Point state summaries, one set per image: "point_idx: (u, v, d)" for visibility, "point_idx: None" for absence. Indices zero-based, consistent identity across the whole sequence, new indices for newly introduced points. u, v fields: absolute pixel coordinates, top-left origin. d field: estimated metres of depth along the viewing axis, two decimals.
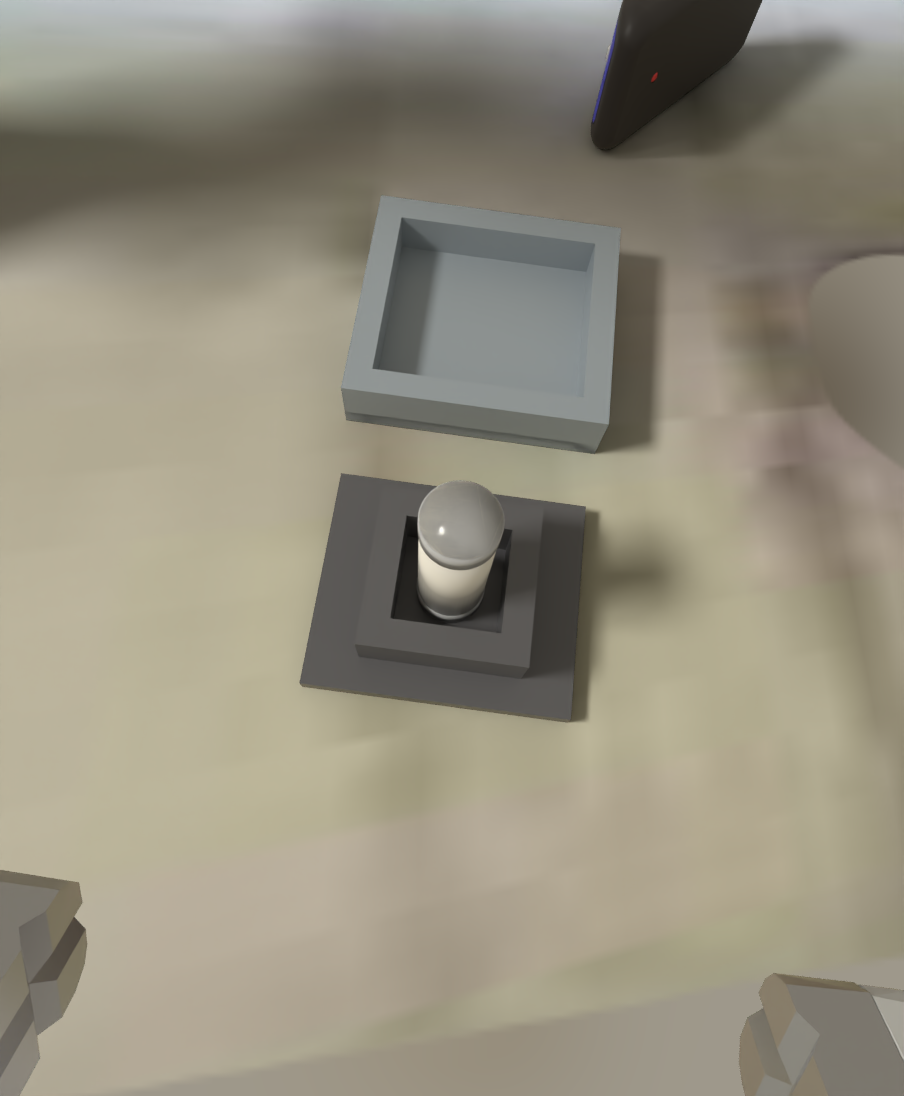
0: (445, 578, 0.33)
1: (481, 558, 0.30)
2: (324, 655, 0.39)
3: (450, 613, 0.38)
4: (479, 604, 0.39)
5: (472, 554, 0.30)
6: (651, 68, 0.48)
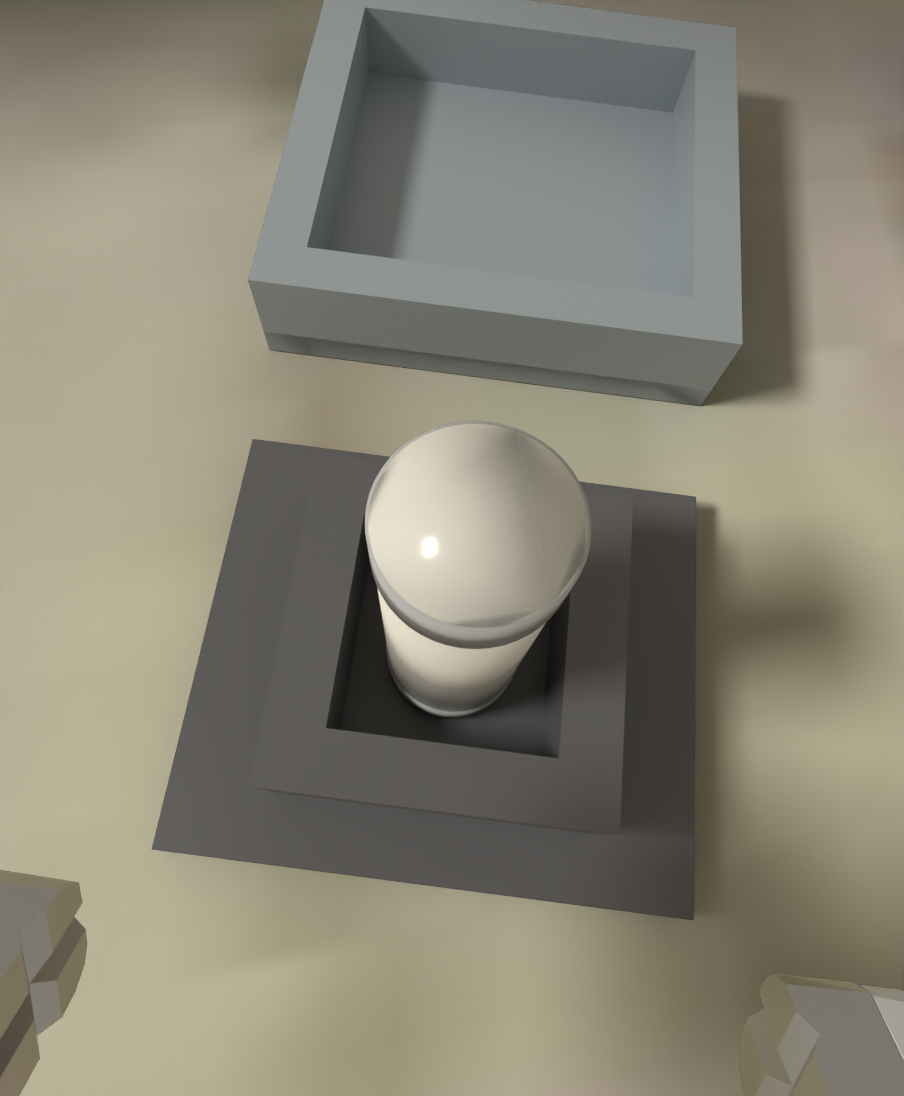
0: (440, 661, 0.14)
1: (534, 622, 0.12)
2: (204, 789, 0.20)
3: (452, 709, 0.19)
4: None
5: (510, 612, 0.11)
6: None
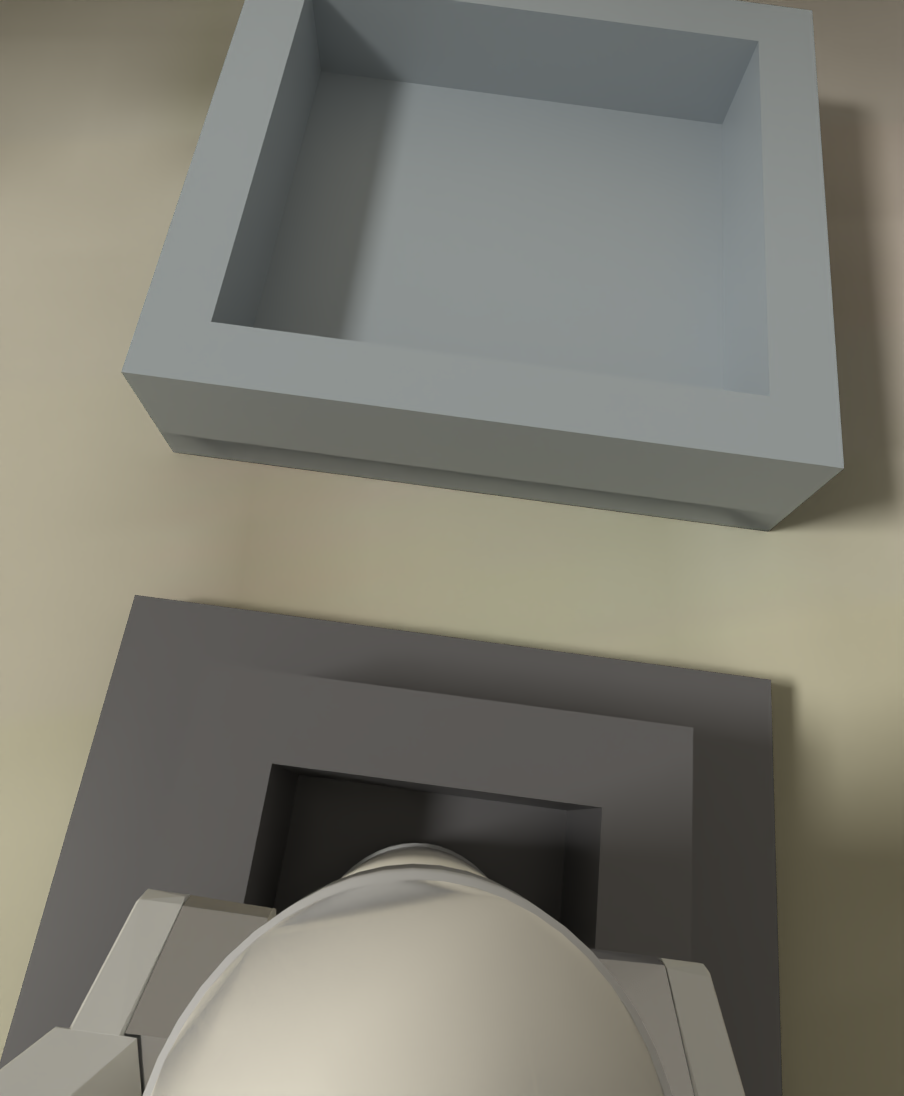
0: None
1: None
2: None
3: None
4: None
5: None
6: None
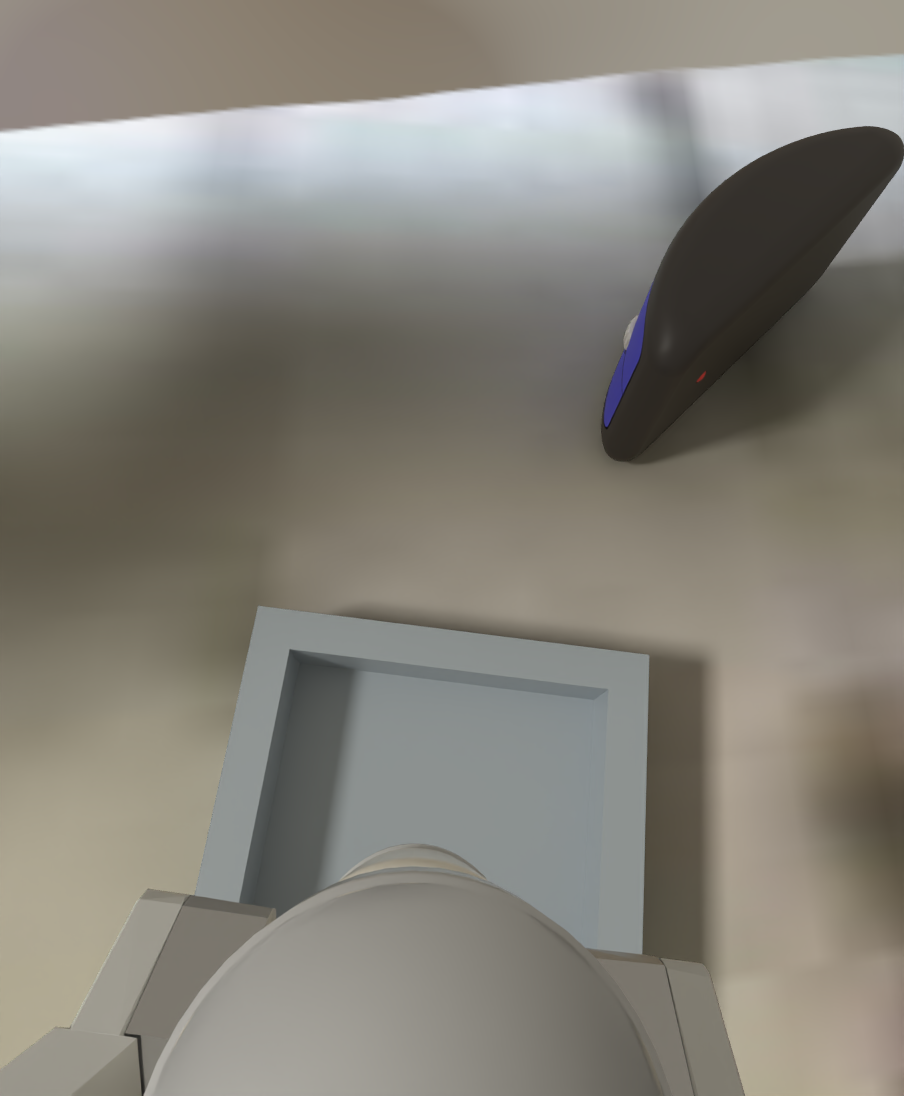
0: None
1: None
2: None
3: None
4: None
5: None
6: (698, 374, 0.30)
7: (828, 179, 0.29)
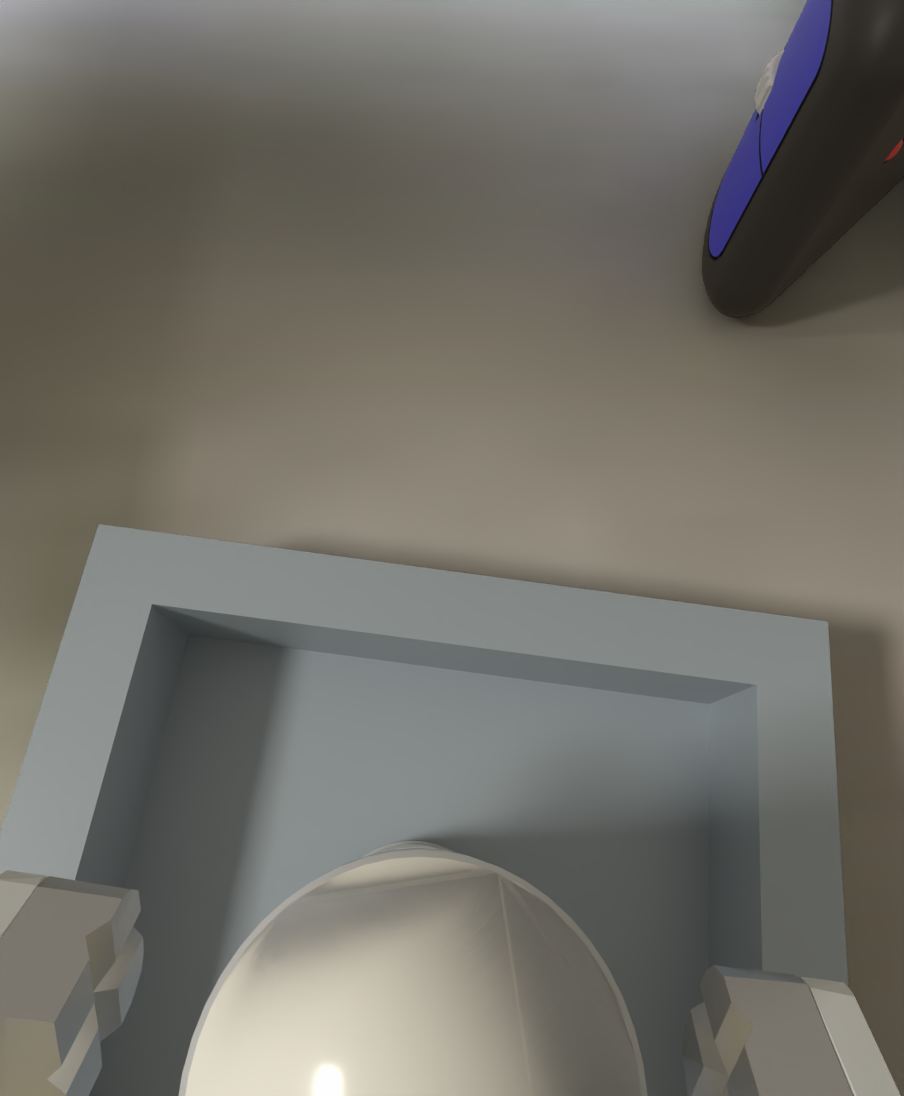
0: None
1: None
2: None
3: None
4: None
5: None
6: (902, 130, 0.17)
7: None
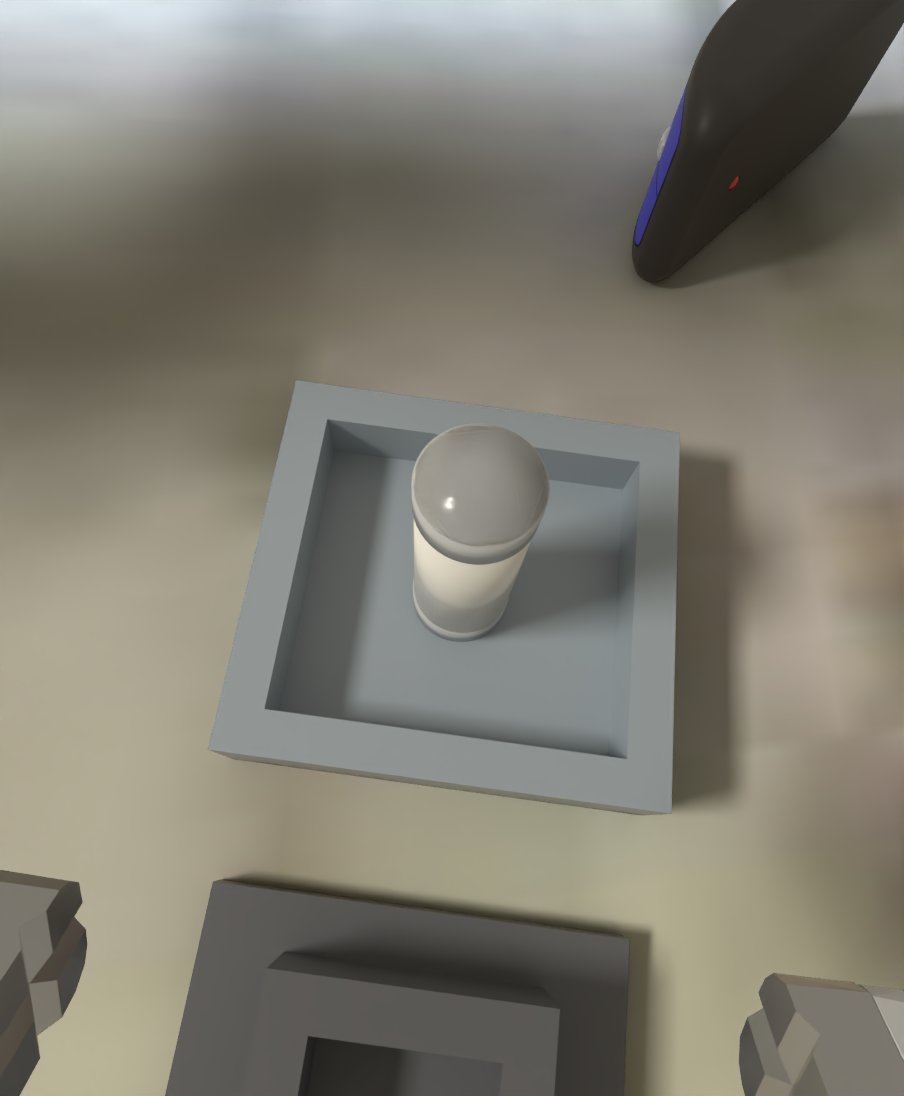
0: (455, 578, 0.21)
1: (514, 545, 0.19)
2: None
3: (460, 630, 0.27)
4: (501, 616, 0.28)
5: (499, 538, 0.19)
6: (732, 173, 0.31)
7: None
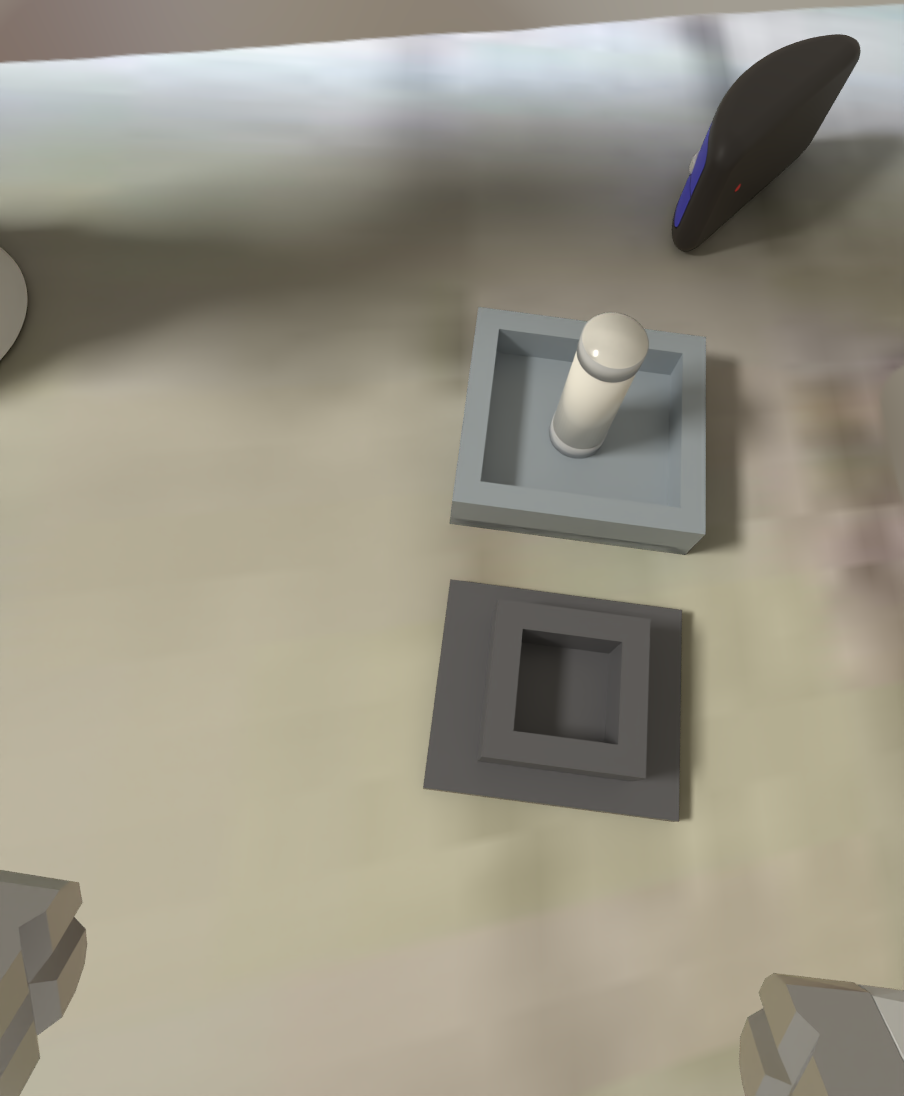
0: (595, 396, 0.41)
1: (632, 369, 0.39)
2: (445, 760, 0.41)
3: (582, 446, 0.46)
4: (602, 442, 0.48)
5: (626, 365, 0.39)
6: (737, 182, 0.51)
7: (814, 63, 0.50)
